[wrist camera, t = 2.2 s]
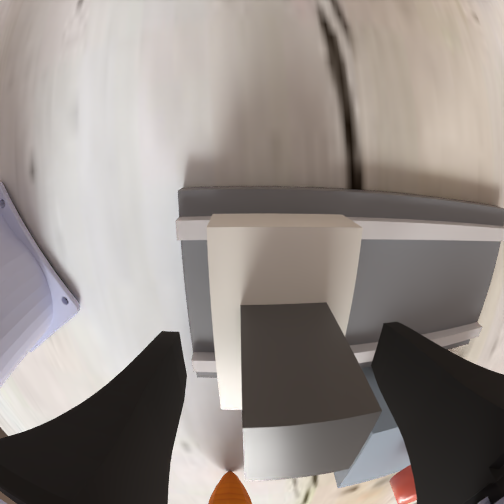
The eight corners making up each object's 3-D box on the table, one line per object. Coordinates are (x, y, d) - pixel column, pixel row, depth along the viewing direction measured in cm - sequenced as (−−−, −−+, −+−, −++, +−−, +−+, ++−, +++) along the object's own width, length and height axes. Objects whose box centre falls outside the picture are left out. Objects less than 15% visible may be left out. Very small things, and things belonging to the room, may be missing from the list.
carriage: (222, 380, 13) (217, 505, 7) (212, 213, 10) (168, 317, 4) (319, 375, 13) (355, 491, 7) (342, 214, 11) (461, 300, 4)
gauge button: (381, 488, 11) (389, 510, 10) (403, 465, 10) (413, 491, 8) (425, 472, 12) (434, 491, 10) (449, 446, 10) (460, 468, 8)
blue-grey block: (324, 436, 19) (337, 488, 14) (345, 370, 16) (372, 433, 11) (406, 417, 19) (427, 460, 14) (439, 351, 16) (475, 397, 11)
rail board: (199, 365, 15) (195, 385, 14) (182, 187, 12) (174, 193, 10) (461, 336, 16) (473, 348, 14) (496, 205, 13) (513, 212, 11)
